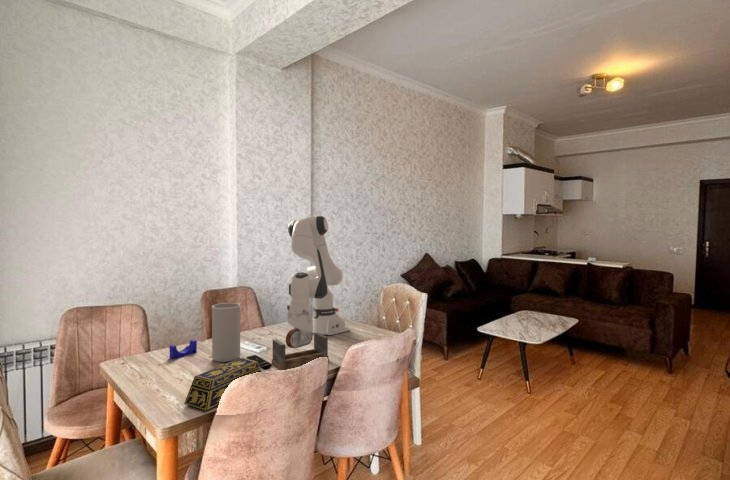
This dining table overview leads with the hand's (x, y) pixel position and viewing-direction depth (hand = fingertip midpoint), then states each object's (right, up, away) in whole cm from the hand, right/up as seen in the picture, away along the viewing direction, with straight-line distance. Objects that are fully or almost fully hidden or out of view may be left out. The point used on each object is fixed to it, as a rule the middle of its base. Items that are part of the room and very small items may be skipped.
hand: (299, 338), depth 179 cm
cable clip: (-58, -11, +9) cm, 60 cm away
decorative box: (-22, -13, -31) cm, 40 cm away
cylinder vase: (-36, -11, +5) cm, 38 cm away
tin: (0, -4, 0) cm, 4 cm away
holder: (0, -11, 0) cm, 11 cm away
